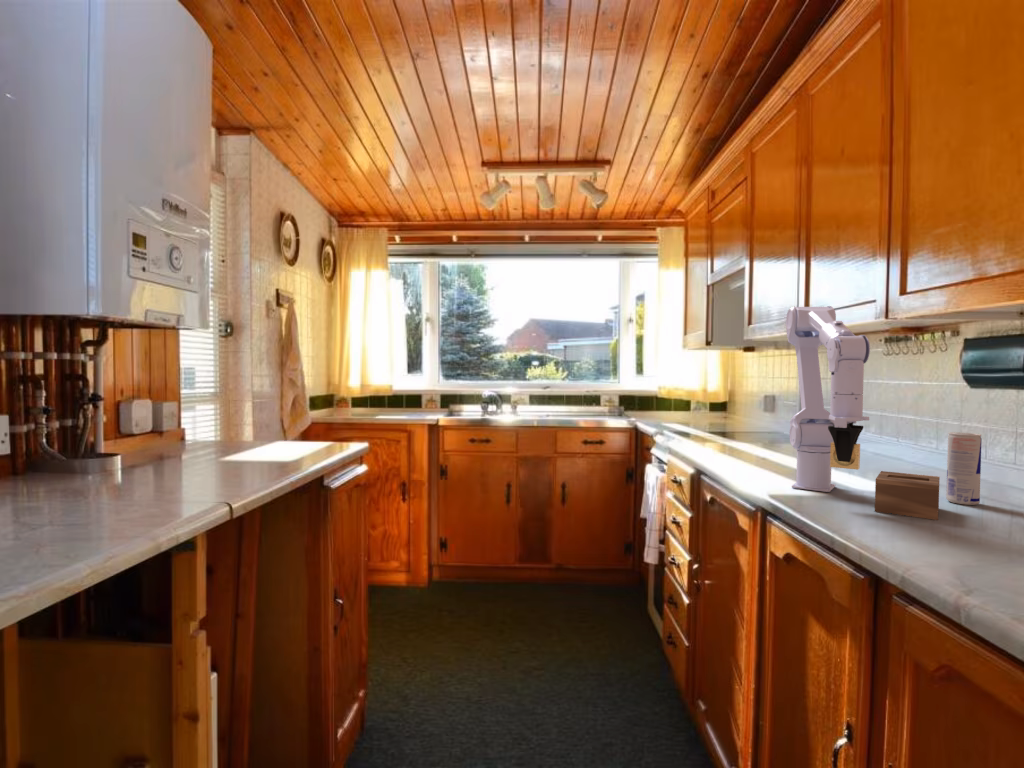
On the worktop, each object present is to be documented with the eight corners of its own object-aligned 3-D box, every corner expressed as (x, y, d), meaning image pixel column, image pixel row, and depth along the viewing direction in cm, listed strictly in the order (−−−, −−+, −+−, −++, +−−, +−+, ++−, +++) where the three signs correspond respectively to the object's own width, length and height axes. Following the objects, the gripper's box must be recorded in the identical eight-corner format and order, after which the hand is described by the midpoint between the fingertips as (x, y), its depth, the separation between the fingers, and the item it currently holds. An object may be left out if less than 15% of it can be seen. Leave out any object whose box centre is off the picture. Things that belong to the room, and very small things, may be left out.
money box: (880, 501, 122) (881, 470, 122) (938, 508, 116) (939, 476, 116) (874, 511, 113) (875, 478, 113) (937, 520, 107) (938, 485, 107)
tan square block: (831, 465, 119) (832, 441, 119) (859, 468, 116) (860, 443, 116) (830, 466, 118) (830, 442, 117) (858, 469, 115) (858, 444, 114)
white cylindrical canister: (985, 506, 118) (987, 434, 118) (955, 505, 120) (957, 433, 119) (969, 500, 124) (972, 432, 124) (940, 499, 125) (942, 431, 125)
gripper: (865, 396, 108) (863, 467, 109) (873, 394, 120) (871, 458, 120) (823, 394, 113) (821, 463, 113) (835, 393, 124) (833, 455, 125)
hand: (844, 460), depth 117 cm, fingers closed on tan square block, 2 cm apart
